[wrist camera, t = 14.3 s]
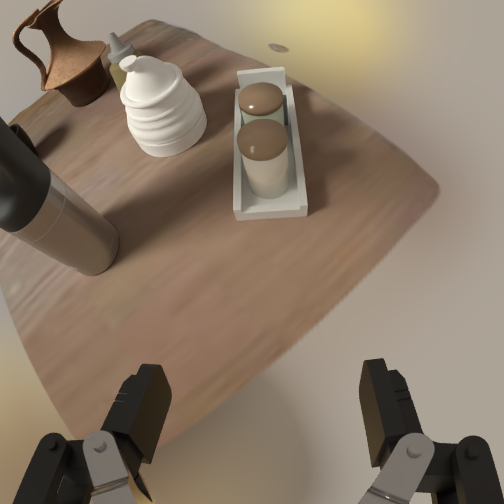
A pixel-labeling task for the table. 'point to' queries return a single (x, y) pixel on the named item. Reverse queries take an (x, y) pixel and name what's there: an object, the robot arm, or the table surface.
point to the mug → (23, 137)
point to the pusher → (283, 110)
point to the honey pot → (161, 106)
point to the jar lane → (295, 196)
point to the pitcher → (66, 58)
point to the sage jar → (261, 102)
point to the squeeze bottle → (119, 58)
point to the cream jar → (265, 157)
